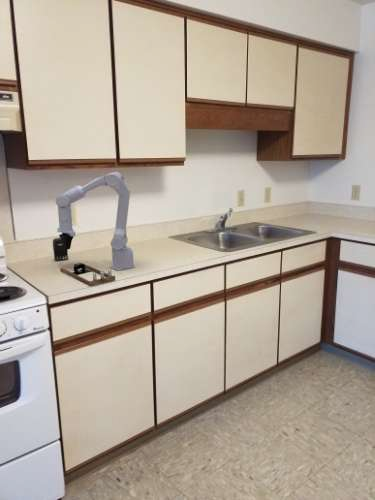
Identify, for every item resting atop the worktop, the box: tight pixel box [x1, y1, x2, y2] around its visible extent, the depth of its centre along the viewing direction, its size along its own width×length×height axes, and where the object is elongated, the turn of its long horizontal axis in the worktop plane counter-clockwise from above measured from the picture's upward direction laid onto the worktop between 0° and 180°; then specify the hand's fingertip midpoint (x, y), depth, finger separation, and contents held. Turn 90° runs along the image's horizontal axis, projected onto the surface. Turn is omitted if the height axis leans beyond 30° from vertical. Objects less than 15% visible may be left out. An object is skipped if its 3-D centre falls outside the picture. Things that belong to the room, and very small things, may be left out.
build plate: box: [72, 262, 93, 276], centre depth 178 cm, size 12×7×5 cm, turn 139°
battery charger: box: [52, 237, 69, 262], centre depth 197 cm, size 7×4×11 cm, turn 123°
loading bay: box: [59, 263, 116, 287], centre depth 173 cm, size 12×29×5 cm, turn 42°
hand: (67, 249), depth 184 cm, fingers closed
